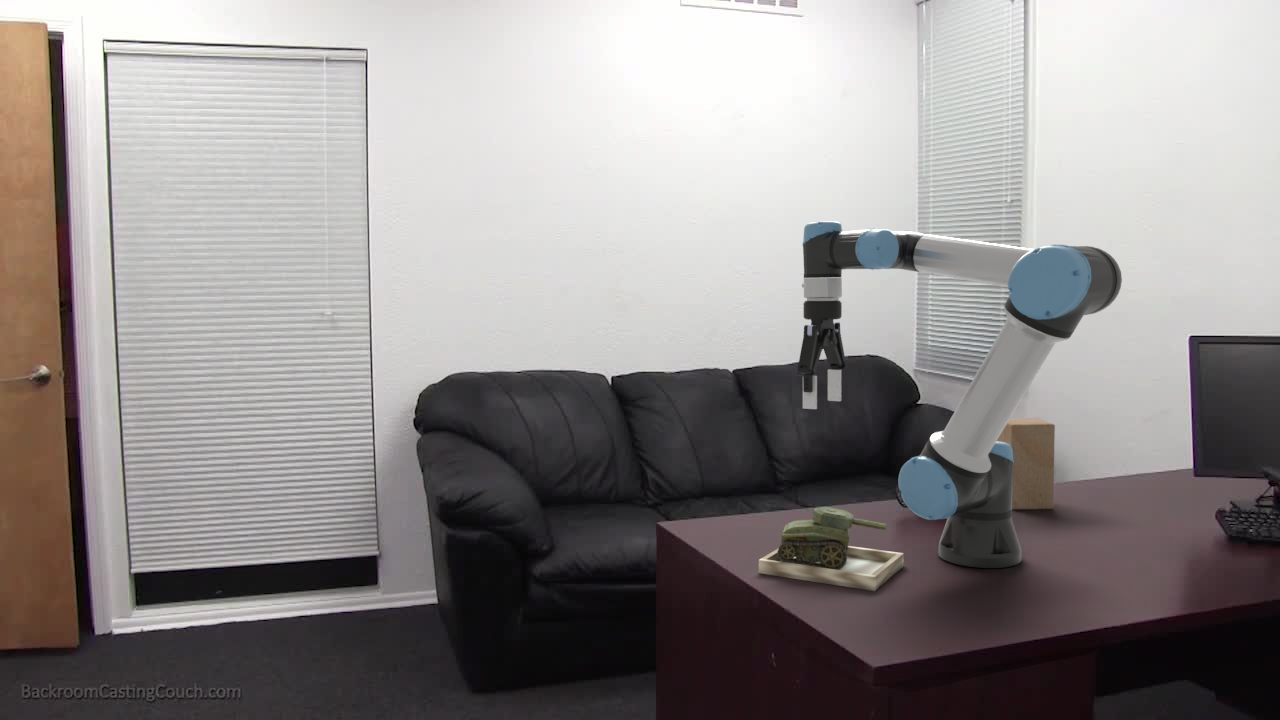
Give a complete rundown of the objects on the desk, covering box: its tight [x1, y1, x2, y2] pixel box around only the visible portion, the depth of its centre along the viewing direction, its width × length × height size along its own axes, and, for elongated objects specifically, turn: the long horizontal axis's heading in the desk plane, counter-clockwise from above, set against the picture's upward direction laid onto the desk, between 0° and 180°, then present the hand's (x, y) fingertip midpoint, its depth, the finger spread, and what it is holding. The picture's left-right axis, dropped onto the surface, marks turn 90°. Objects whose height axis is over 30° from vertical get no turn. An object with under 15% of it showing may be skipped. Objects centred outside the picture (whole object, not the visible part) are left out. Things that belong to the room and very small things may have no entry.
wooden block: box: [997, 417, 1056, 511], centre depth 233 cm, size 10×10×20 cm
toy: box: [777, 506, 887, 570], centre depth 184 cm, size 10×18×10 cm, turn 77°
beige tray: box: [758, 545, 905, 592], centre depth 185 cm, size 22×17×2 cm
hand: (822, 404), depth 200 cm, fingers open, 13 cm apart
